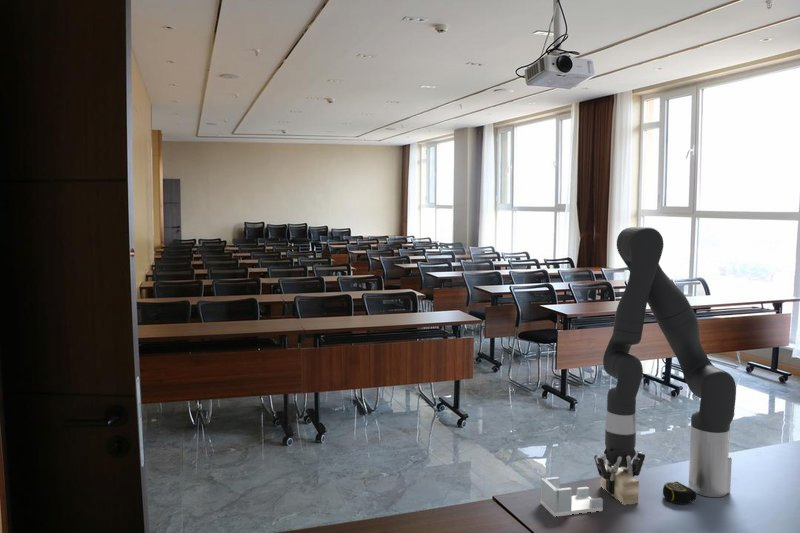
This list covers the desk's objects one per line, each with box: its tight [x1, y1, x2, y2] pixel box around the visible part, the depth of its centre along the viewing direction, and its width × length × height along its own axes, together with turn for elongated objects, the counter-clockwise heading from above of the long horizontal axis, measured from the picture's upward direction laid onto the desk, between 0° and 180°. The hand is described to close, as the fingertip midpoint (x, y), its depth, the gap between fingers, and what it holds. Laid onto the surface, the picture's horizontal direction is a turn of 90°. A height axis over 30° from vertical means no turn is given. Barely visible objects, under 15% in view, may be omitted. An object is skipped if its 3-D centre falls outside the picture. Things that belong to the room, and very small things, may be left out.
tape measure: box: [662, 481, 697, 504], centre depth 164 cm, size 7×7×4 cm
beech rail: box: [600, 464, 640, 506], centre depth 166 cm, size 11×4×6 cm, turn 14°
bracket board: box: [540, 476, 604, 518], centre depth 159 cm, size 13×8×6 cm, turn 103°
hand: (618, 491), depth 167 cm, fingers closed on beech rail, 4 cm apart
